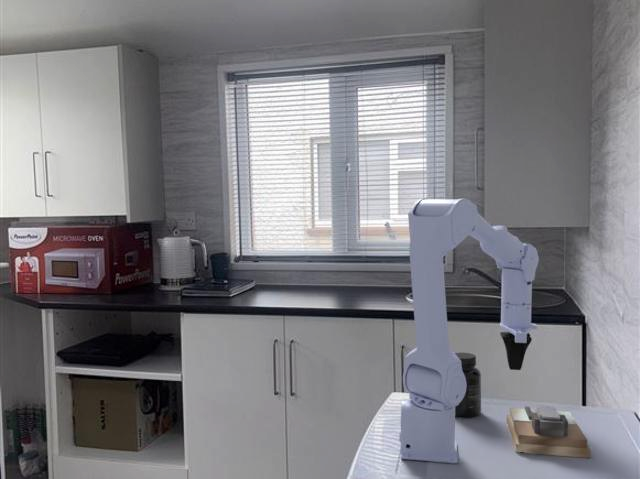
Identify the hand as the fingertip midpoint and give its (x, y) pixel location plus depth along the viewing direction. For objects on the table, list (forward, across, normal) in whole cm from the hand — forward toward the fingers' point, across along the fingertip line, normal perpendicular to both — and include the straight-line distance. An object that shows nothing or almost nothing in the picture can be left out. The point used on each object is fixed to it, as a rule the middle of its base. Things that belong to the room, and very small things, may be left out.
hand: (514, 368), depth 113 cm
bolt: (+6, -13, -4) cm, 15 cm away
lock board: (+9, -11, -4) cm, 15 cm away
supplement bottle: (+10, -1, +10) cm, 14 cm away
